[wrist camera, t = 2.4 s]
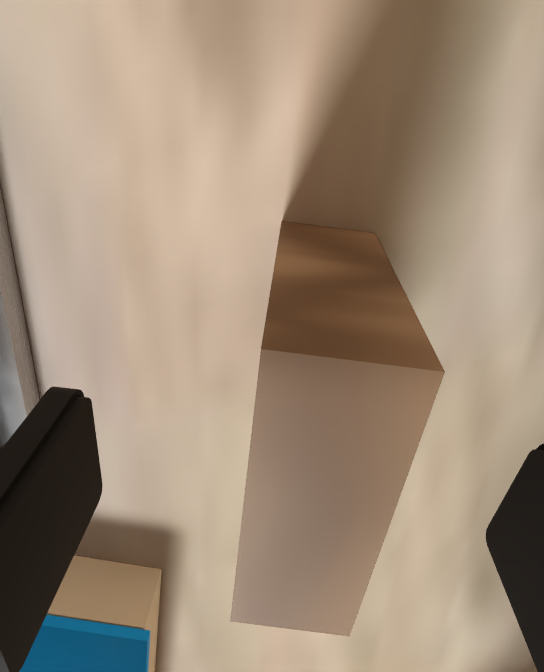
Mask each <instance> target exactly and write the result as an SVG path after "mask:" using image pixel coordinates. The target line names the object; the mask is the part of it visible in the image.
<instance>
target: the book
mask: <svg viewBox="0 0 544 672" xmlns="http://www.w3.org/2000/svg"><path fill="white" fill-rule="evenodd" d="M161 572H162V569H157V568H150V567H144V566H138V565H131V564H125V563H119V562H112V561H106V560H100V559H93V558H87V557H81V556H73V559H72V561H71V563H70V565H69V567H68V569H67V572H66V574H65V576H64V578H63V580H62V582H61V585H60V587H59V589H58V591H57V593H56V595H55V598H54V600H53V602H52V604H51V606H50V608H49V610H48V613H47V615H46V617H45V619H44V621H43V623H42V626H41V628H40V630H39V632H38V634H37V636H36V639H35V641H34V643H33V645H32V647H31V649H30V652H29V654H28V656H27V658H26V660H25V662H24V664H23V666H22V668H21V670H20V671H19V672H155V662H156V647H157V632H158V617H159V602H160V587H161Z"/></svg>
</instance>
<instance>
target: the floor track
mask: <svg viewBox="0 0 544 672" xmlns="http://www.w3.org/2000/svg"><path fill="white" fill-rule="evenodd" d="M39 400H40V398H39V392H38V387H37V382H36V376H35V371H34V365H33V360H32V355H31V349H30V344H29V339H28V333H27V328H26V322H25V317H24V312H23V306H22V301H21V295H20V290H19V285H18V279H17V274H16V268H15V263H14V258H13V252H12V247H11V242H10V236H9V231H8V225H7V220H6V215H5V209H4V204H3V198H2V193H1V188H0V446H4V445H5V444H6V442H7V441H8V440H9V439H10V437H11V436H12V435H13V434H14V432H15V431H16V430H17V428H18V427H19V426H20V425H21V423H22V422H23V421H24V420H25V418H26V417H27V416H28V414H29V413H30V412H31V411H32V409H33V408H34V407H35V406H36V404H37V403H38V402H39Z"/></svg>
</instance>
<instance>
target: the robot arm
mask: <svg viewBox="0 0 544 672" xmlns="http://www.w3.org/2000/svg"><path fill="white" fill-rule="evenodd" d="M101 493H102V478H101V470H100V463H99V455H98V447H97V440H96V432H95V424H94V417H93V409H92V402H91V399H90V398H86V397H84V394H83V392H82V391H81V390H78V389H70V388H61V387H51V388H50V389H49V390H47V392H46V393H45V394H44V395H43V397H42V398H41V399H40V400H39V402H38V403H37V404H36V406H35V407H34V408H33V409H32V411H31V412H30V413H29V414H28V416H27V417H26V418H25V420H24V421H23V422H22V423H21V425H20V426H19V427H18V428H17V430H16V431H15V432H14V434H13V435H12V436H11V437H10V439H9V440H8V441H7V442H6V444H5V445H4V446H0V672H19V671H20V670H21V668H22V666H23V664H24V662H25V660H26V658H27V656H28V654H29V652H30V649H31V647H32V645H33V643H34V641H35V639H36V636H37V634H38V632H39V630H40V628H41V626H42V623H43V621H44V619H45V617H46V615H47V613H48V610H49V608H50V606H51V604H52V602H53V600H54V598H55V595H56V593H57V591H58V589H59V587H60V585H61V582H62V580H63V578H64V576H65V574H66V572H67V569H68V567H69V565H70V563H71V561H72V559H73V556H74V554H75V552H76V550H77V548H78V546H79V544H80V541H81V539H82V537H83V535H84V533H85V531H86V528H87V526H88V524H89V522H90V520H91V518H92V515H93V513H94V511H95V509H96V507H97V505H98V502H99V500H100V497H101ZM486 542H487V546H488V548H489V551H490V553H491V556H492V558H493V561H494V563H495V566H496V568H497V571H498V573H499V576H500V578H501V581H502V583H503V586H504V588H505V591H506V593H507V596H508V598H509V601H510V603H511V606H512V608H513V611H514V613H515V616H516V618H517V621H518V623H519V626H520V628H521V631H522V633H523V636H524V638H525V641H526V643H527V646H528V648H529V651H530V653H531V656H532V658H533V661H534V663H535V666H536V668H537V671H538V672H544V444H542V445H540V446H539V447H538V448H537V449H536V450H532V451H531V452H530V453H529V454H528V456H527V458H526V460H525V462H524V463H523V465H522V467H521V469H520V470H519V472H518V474H517V476H516V478H515V479H514V481H513V483H512V485H511V486H510V488H509V490H508V492H507V494H506V495H505V497H504V499H503V501H502V502H501V504H500V506H499V508H498V510H497V511H496V513H495V515H494V517H493V518H492V520H491V522H490V524H489V526H488V528H487V530H486Z"/></svg>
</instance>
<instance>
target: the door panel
mask: <svg viewBox="0 0 544 672" xmlns="http://www.w3.org/2000/svg"><path fill="white" fill-rule="evenodd" d="M444 373H445V371H444V369H443V367H442V365H441V363H440V361H439V359H438V357H437V355H436V353H435V351H434V349H433V348H432V346H431V344H430V342H429V340H428V338H427V336H426V334H425V332H424V330H423V328H422V326H421V324H420V322H419V320H418V318H417V316H416V314H415V312H414V310H413V308H412V306H411V304H410V302H409V300H408V298H407V296H406V294H405V292H404V290H403V288H402V286H401V284H400V282H399V280H398V278H397V276H396V274H395V272H394V270H393V268H392V266H391V264H390V262H389V260H388V258H387V256H386V254H385V252H384V250H383V248H382V246H381V244H380V242H379V240H378V238H377V236H376V234H375V233H371V232H363V231H355V230H347V229H339V228H331V227H323V226H315V225H307V224H299V223H291V222H283V221H282V223H281V229H280V235H279V241H278V247H277V254H276V260H275V266H274V272H273V278H272V285H271V291H270V297H269V303H268V309H267V316H266V322H265V328H264V334H263V340H262V347H261V355H260V363H259V372H258V381H257V390H256V399H255V408H254V416H253V425H252V434H251V443H250V452H249V461H248V470H247V478H246V487H245V496H244V505H243V514H242V523H241V531H240V540H239V549H238V558H237V567H236V576H235V584H234V593H233V602H232V611H231V620H230V621H231V622H239V623H247V624H255V625H263V626H271V627H279V628H287V629H295V630H303V631H311V632H319V633H327V634H335V635H343V636H350V633H351V630H352V628H353V625H354V622H355V619H356V617H357V614H358V611H359V608H360V605H361V603H362V600H363V597H364V594H365V592H366V589H367V586H368V583H369V580H370V578H371V575H372V572H373V569H374V567H375V564H376V561H377V558H378V556H379V553H380V550H381V547H382V544H383V542H384V539H385V536H386V533H387V531H388V528H389V525H390V522H391V520H392V517H393V514H394V511H395V508H396V506H397V503H398V500H399V497H400V495H401V492H402V489H403V486H404V483H405V481H406V478H407V475H408V472H409V470H410V467H411V464H412V461H413V459H414V456H415V453H416V450H417V447H418V445H419V442H420V439H421V436H422V434H423V431H424V428H425V425H426V422H427V420H428V417H429V414H430V411H431V409H432V406H433V403H434V400H435V398H436V395H437V392H438V389H439V386H440V384H441V381H442V378H443V375H444Z"/></svg>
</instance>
